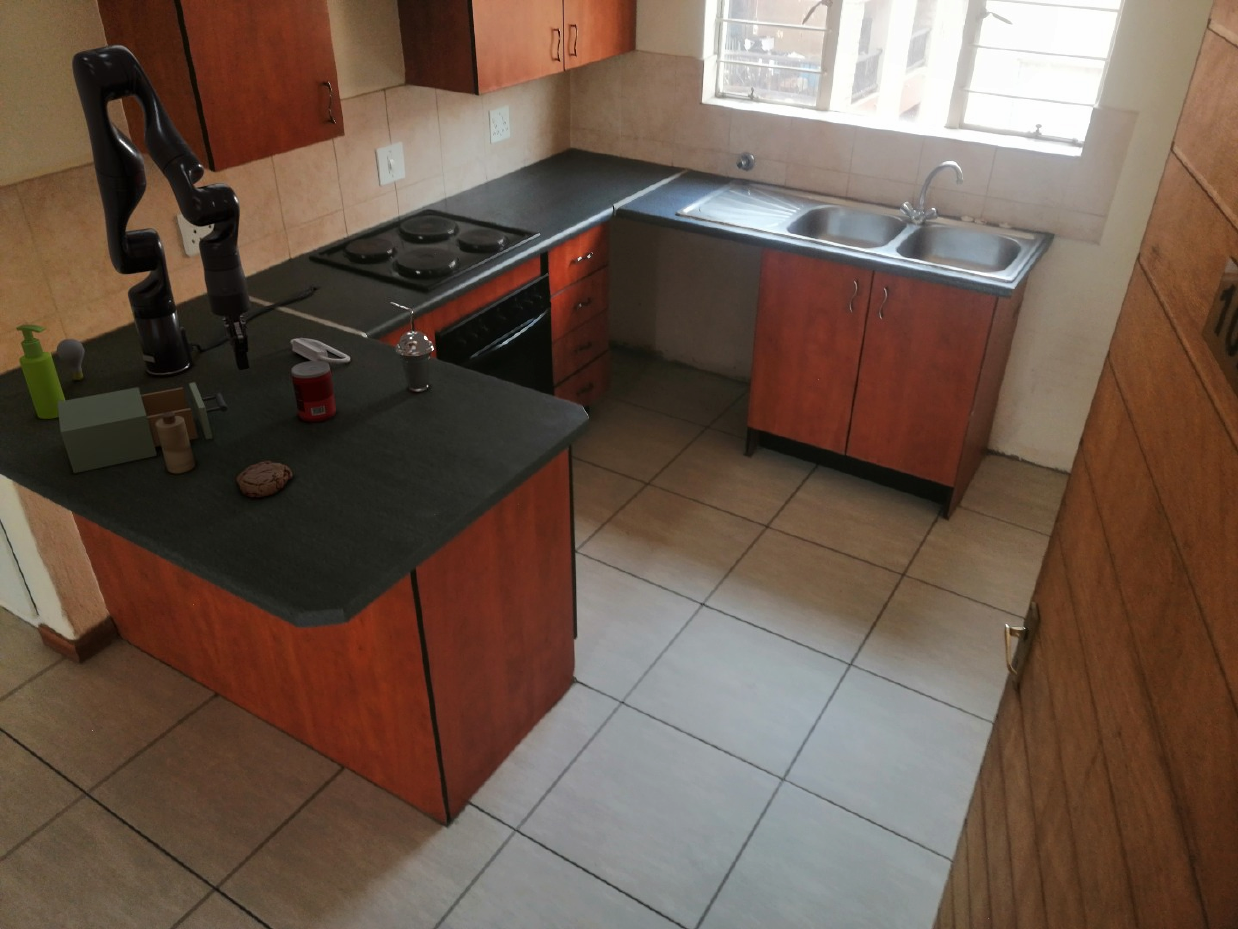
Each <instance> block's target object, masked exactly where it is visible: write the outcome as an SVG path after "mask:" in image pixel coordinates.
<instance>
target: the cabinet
mask: <svg viewBox="0 0 1238 929" xmlns="http://www.w3.org/2000/svg"><path fill="white" fill-rule="evenodd" d="M141 395H142V394H141V392H140V387H132V388H128V389H122V390H116V391H111V392H104V393H99V394H94V395H88V396H83V397H77V398H71V399H65V401H61V402H57V403H58V412H59V417H58V419H59V420H58V421H59V430H60V435H61V437H62V440H63V444H64V447H65V450H66V453H67V456H68V459H69V463H70V466H71V469H72V472H73V474H78V473H82V472H86V471H92V470H96V469H101V468H106V467H111V466H116V465H120V464H125V463H129V462H134V461H138V460H143V459H147V458H153V457H156V456H158V454H157V450H156V447H155V446H154V442H153V438H152V434H151V431H150V427H149V423H148V419H147V416H146V412H145V409H144V405H143V402H142V398H141Z"/></svg>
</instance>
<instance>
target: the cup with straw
mask: <svg viewBox="0 0 1238 929" xmlns="http://www.w3.org/2000/svg"><path fill="white" fill-rule="evenodd" d="M389 305H390V306H392V307H395V308H398V309H401V310H404V311H407V312H409V316H410V318H409V319H410V327H411V330H408V331H406V332H405V333H403V334H402V335H401V336H400V338H399V339H398V343H397V344H396V345H395V353H396V354H398V355H399V358H400V362H402V366H403V371H404V376H405V380H406V384H407V386H408V390H409V391H410V392H413V393H423V392H426V391H428V390H429V388H430V386H429V384H430V360H431V354H432V353H431V352H432V351H433V350H434V348H435V346H434V344H433V342H432V341H430V340H429V338H428V336H427V335H426V334H425V333H424V332H421V331H420V330H416V329H415V328H416V327H415V318H414V311H413V309H412V308H410V307H407V306H404V305H401V304H399V303H397V302H396V303H395V302H393V301H390V303H389Z"/></svg>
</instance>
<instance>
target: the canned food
mask: <svg viewBox="0 0 1238 929" xmlns="http://www.w3.org/2000/svg"><path fill="white" fill-rule="evenodd" d="M290 375H291V380H292V386H293V391H294V396H295V403H296V407H297V413H298V416H299V418H300V419H301V420H303V421H305V422H310V423H315V422H323V421H326V420H328V419H330V418H332V417H333V416H335V414H336V411H337V407H336V399H335V393H334V385H333V379H332V372H331V367H330V363H329V362H327V363H326V362H322V361H311V360H309V361H303V362H300V363H297V364H295V365H293V366H292V368H291V369H290Z"/></svg>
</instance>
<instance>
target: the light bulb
mask: <svg viewBox="0 0 1238 929" xmlns="http://www.w3.org/2000/svg"><path fill="white" fill-rule="evenodd" d="M56 355H57V356H58V358H59V359H60V360H61V361H62V362H63V363H64V364H66V365H67V366H68V367H69V369H70V372H71V375H72V379H73V380H76V381H81V380H82V379H83V378H84V374H83V369H82V362H83V359H84V356H85V348H84V345H83V344H82V343H81V341H79V340H77V339H74V338H65V339H63V340H61V341H60V342H59V343H58V344H57V347H56Z"/></svg>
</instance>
